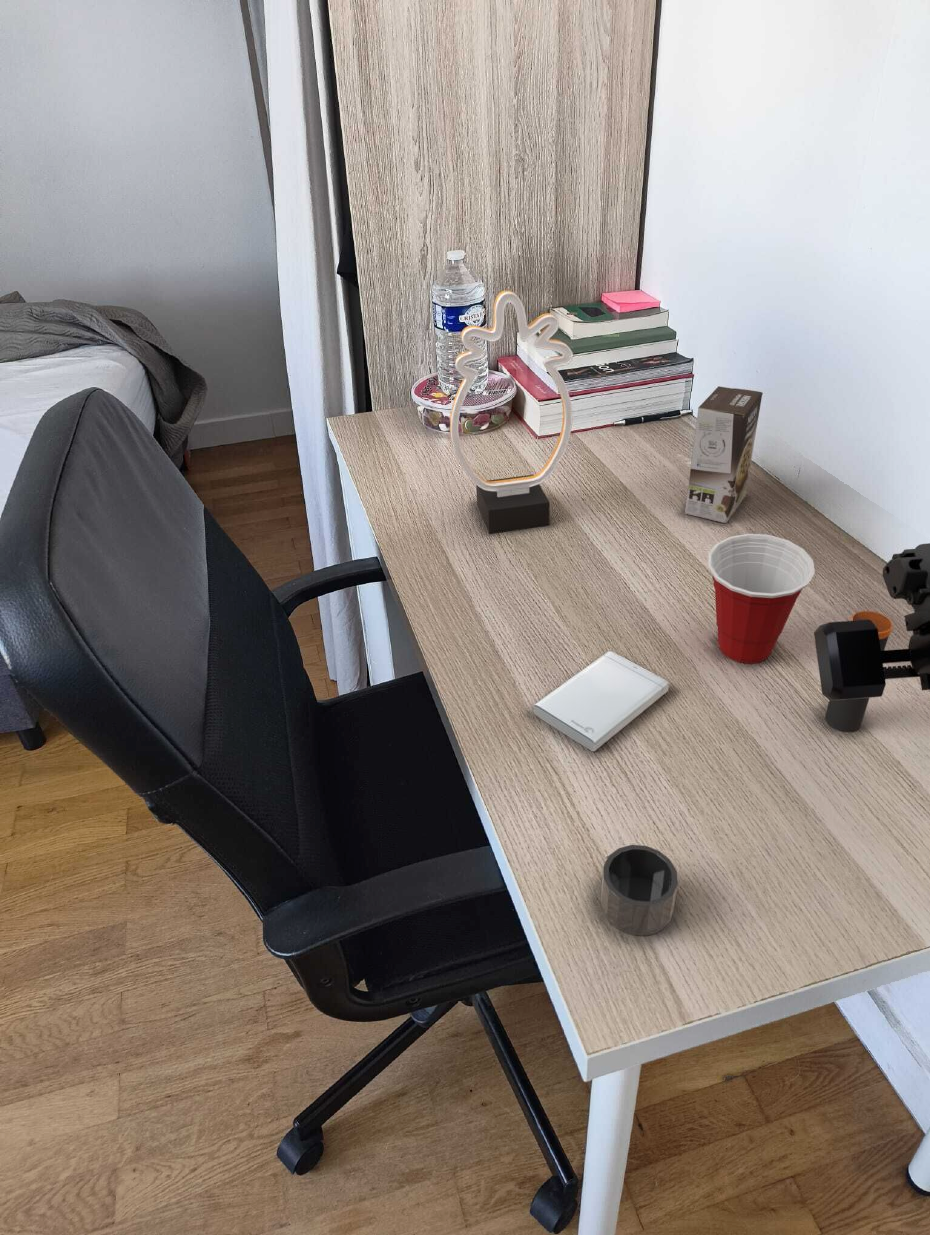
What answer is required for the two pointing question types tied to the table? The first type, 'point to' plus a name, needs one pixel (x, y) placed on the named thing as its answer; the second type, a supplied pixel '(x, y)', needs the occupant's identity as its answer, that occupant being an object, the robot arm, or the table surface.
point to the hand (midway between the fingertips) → (886, 663)
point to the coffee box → (722, 453)
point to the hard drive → (601, 700)
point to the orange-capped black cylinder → (852, 711)
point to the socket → (638, 890)
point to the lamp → (523, 496)
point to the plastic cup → (755, 591)
